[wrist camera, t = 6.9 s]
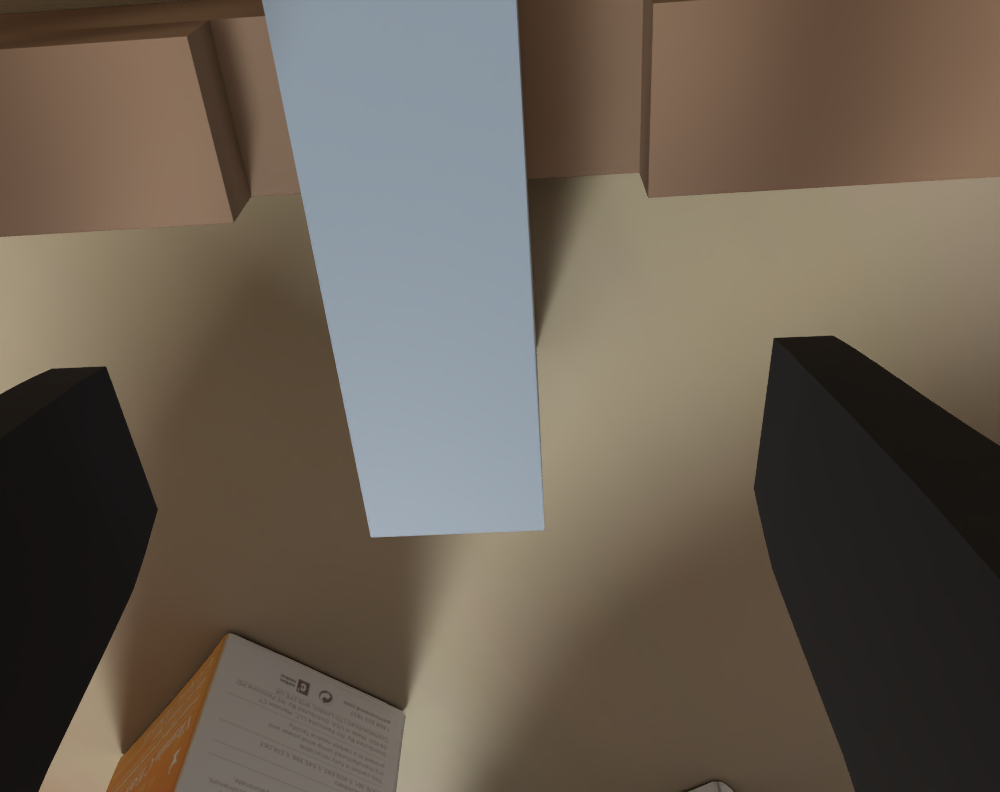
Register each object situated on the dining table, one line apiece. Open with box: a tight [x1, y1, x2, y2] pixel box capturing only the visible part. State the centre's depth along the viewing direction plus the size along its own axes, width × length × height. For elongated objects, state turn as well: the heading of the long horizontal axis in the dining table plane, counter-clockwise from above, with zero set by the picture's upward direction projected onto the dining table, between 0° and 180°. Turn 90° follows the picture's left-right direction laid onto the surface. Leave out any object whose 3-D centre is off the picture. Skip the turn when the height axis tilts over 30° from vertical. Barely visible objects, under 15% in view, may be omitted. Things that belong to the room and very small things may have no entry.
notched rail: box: [0, 0, 1000, 237], centre depth 15 cm, size 20×3×3 cm, turn 94°
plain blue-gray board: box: [262, 0, 545, 538], centre depth 14 cm, size 3×12×6 cm, turn 4°
